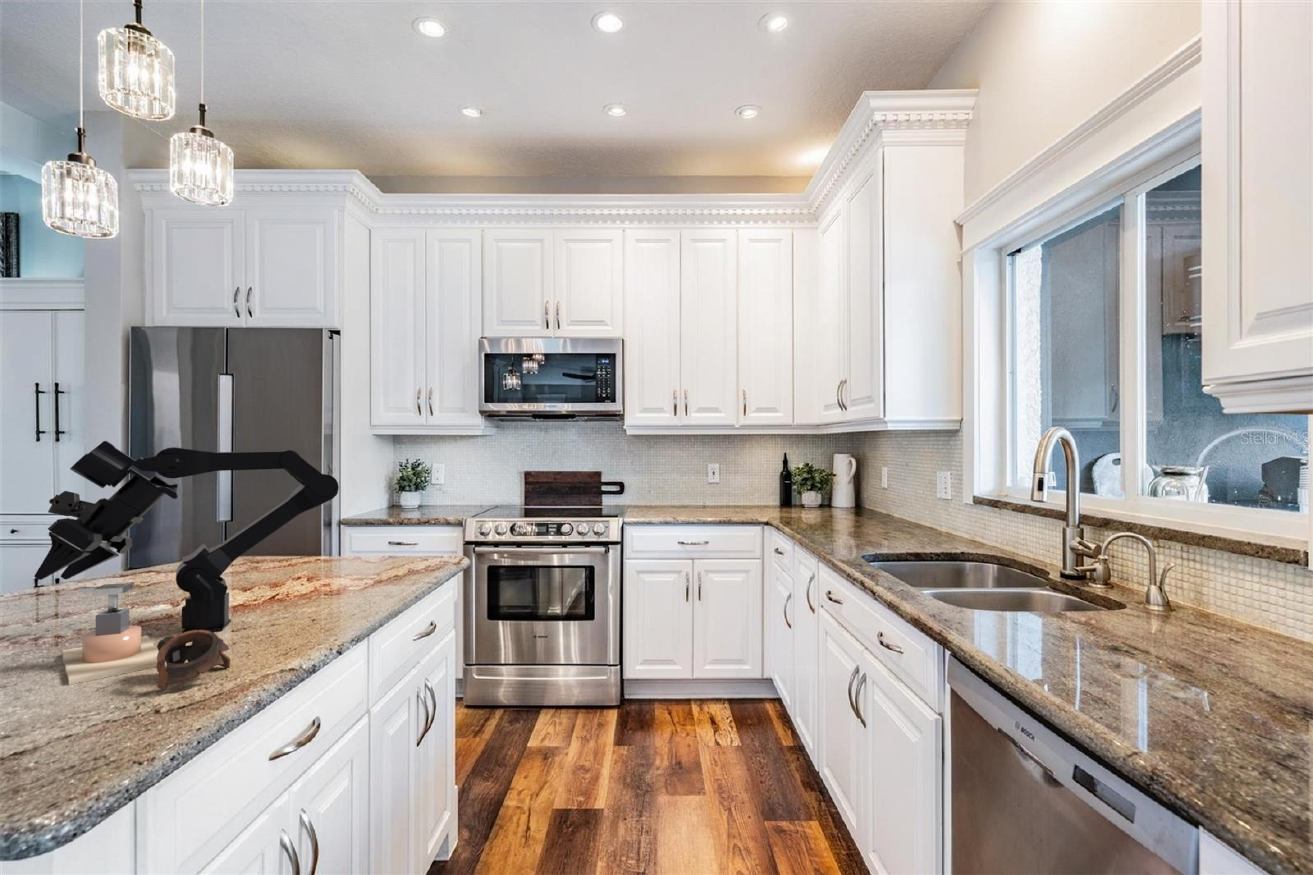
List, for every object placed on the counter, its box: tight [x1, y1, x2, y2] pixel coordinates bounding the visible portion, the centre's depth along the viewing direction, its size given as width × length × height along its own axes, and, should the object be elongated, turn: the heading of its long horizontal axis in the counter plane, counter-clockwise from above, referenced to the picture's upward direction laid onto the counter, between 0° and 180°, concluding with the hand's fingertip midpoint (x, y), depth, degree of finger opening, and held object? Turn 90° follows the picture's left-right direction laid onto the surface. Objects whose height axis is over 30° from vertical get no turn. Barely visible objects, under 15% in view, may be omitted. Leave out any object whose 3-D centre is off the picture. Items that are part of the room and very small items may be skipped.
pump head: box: [77, 582, 134, 613], centre depth 99 cm, size 6×4×4 cm, turn 112°
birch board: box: [61, 635, 159, 686], centre depth 99 cm, size 18×11×1 cm, turn 47°
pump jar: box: [81, 607, 142, 663], centre depth 99 cm, size 7×7×7 cm
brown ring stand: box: [155, 630, 231, 692], centre depth 91 cm, size 12×10×8 cm
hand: (50, 578), depth 103 cm, fingers open, 9 cm apart
